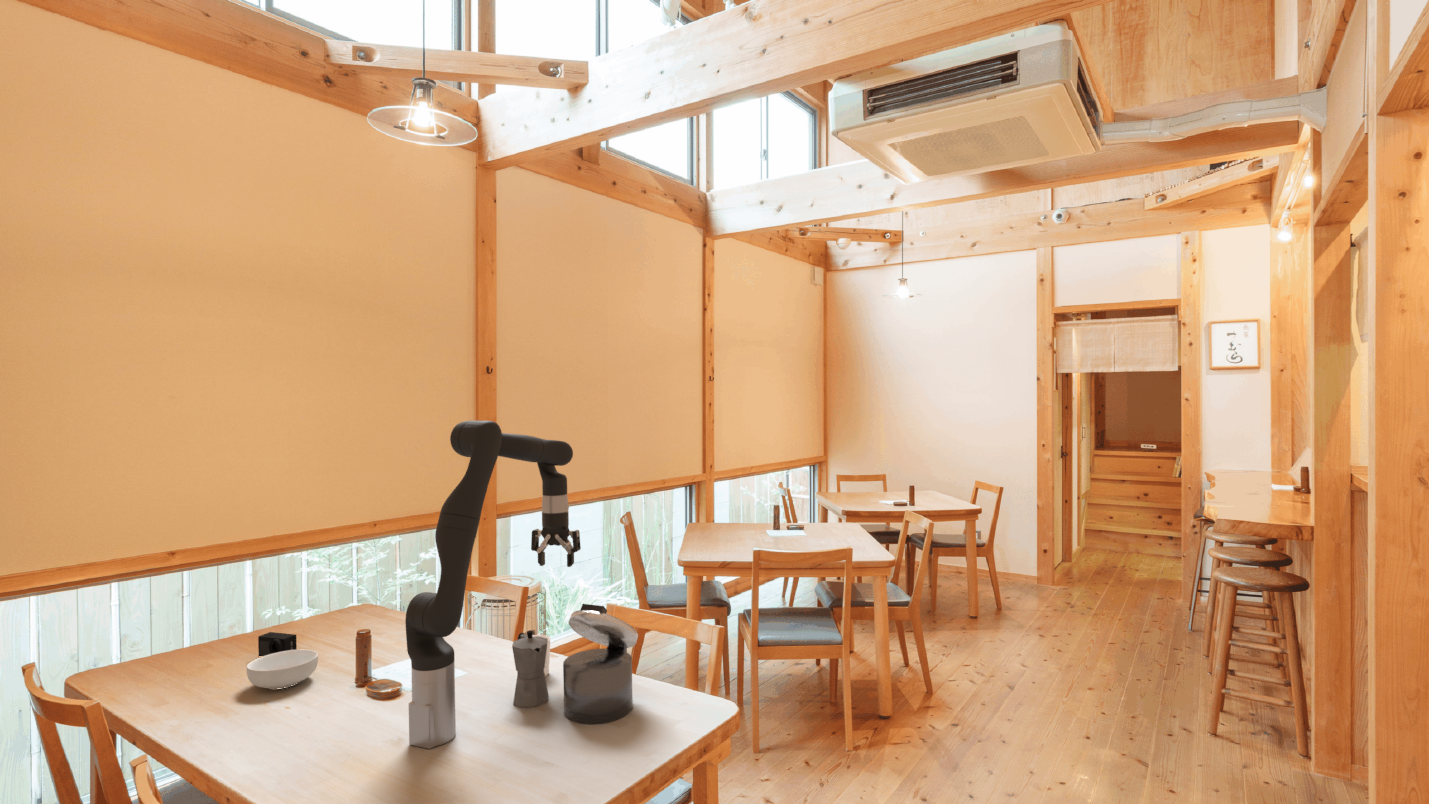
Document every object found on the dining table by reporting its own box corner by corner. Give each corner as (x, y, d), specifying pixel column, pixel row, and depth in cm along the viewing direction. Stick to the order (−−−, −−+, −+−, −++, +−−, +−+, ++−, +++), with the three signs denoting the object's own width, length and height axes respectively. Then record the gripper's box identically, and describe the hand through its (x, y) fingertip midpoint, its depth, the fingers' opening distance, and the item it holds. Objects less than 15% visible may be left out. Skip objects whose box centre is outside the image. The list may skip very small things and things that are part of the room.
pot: (611, 729, 162) (610, 678, 162) (550, 717, 168) (549, 668, 168) (647, 696, 179) (647, 650, 179) (591, 687, 186) (590, 642, 186)
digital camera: (254, 660, 210) (254, 637, 210) (270, 653, 215) (270, 631, 215) (281, 663, 207) (280, 640, 207) (296, 656, 212) (296, 634, 212)
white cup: (546, 680, 191) (546, 644, 191) (518, 680, 191) (517, 644, 191) (553, 669, 199) (553, 634, 199) (526, 669, 199) (526, 634, 199)
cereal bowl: (331, 673, 198) (331, 648, 198) (290, 698, 182) (290, 671, 182) (277, 671, 200) (276, 647, 200) (231, 696, 183) (230, 670, 183)
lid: (620, 620, 165) (624, 607, 167) (556, 612, 172) (561, 601, 174) (647, 653, 178) (650, 641, 180) (587, 645, 185) (591, 633, 187)
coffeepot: (557, 704, 175) (556, 634, 175) (521, 714, 170) (520, 641, 170) (537, 684, 188) (536, 618, 188) (502, 693, 183) (501, 625, 183)
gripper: (526, 511, 197) (527, 568, 197) (573, 512, 194) (574, 569, 194) (538, 507, 204) (539, 562, 204) (583, 508, 202) (584, 563, 202)
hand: (556, 565), depth 199 cm, fingers open, 8 cm apart
